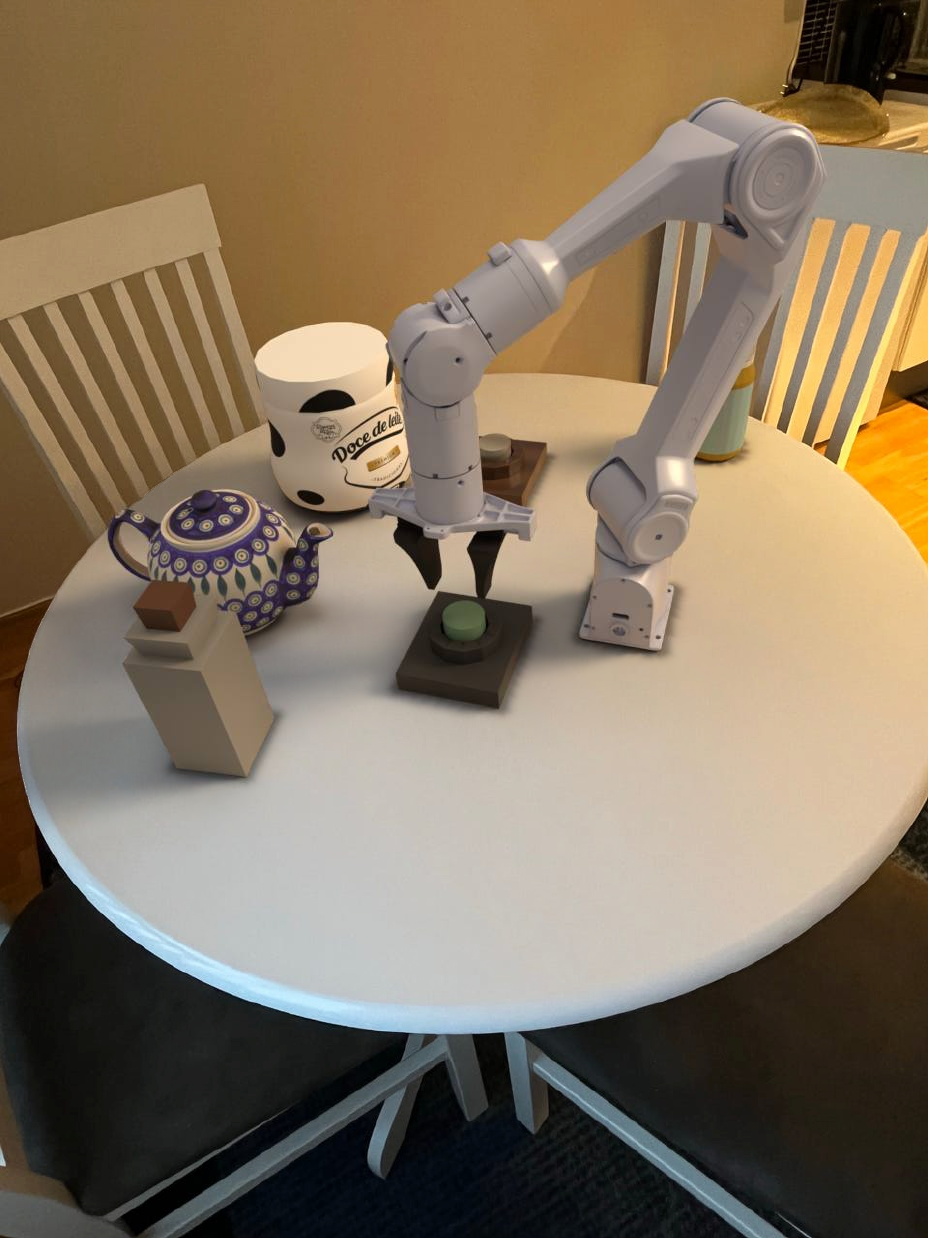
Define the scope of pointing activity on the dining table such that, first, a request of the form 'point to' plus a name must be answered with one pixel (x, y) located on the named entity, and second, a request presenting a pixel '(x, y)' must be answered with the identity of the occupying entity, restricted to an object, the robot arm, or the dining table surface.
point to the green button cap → (464, 621)
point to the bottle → (731, 418)
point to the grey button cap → (495, 447)
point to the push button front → (466, 653)
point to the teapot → (228, 553)
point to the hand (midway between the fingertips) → (459, 587)
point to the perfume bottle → (197, 679)
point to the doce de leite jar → (332, 415)
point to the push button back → (515, 472)
